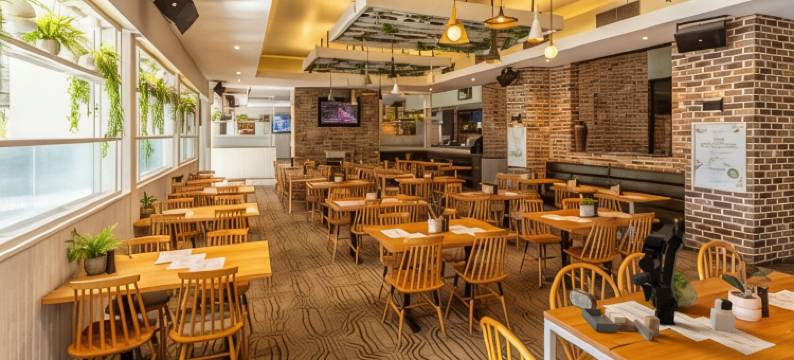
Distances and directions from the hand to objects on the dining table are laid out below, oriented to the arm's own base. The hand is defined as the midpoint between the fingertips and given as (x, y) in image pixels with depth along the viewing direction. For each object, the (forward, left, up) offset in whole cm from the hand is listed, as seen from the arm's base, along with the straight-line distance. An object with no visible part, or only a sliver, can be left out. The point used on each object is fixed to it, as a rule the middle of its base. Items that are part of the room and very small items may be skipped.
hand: (652, 305), depth 195 cm
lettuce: (-24, -35, -12) cm, 44 cm away
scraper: (0, 0, -12) cm, 12 cm away
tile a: (+10, -13, -9) cm, 19 cm away
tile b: (+10, -7, -9) cm, 16 cm away
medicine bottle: (-33, -9, -12) cm, 36 cm away
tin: (+18, -29, -12) cm, 36 cm away
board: (+9, -10, -12) cm, 18 cm away
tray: (+17, -10, -12) cm, 23 cm away
